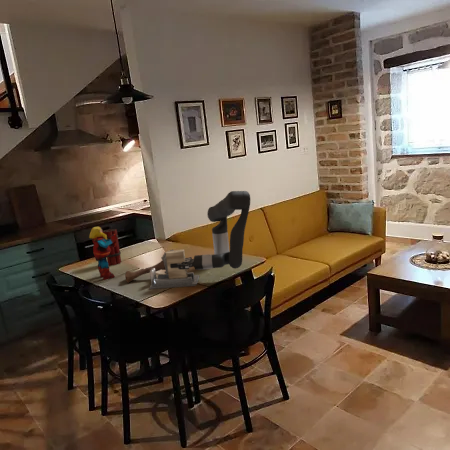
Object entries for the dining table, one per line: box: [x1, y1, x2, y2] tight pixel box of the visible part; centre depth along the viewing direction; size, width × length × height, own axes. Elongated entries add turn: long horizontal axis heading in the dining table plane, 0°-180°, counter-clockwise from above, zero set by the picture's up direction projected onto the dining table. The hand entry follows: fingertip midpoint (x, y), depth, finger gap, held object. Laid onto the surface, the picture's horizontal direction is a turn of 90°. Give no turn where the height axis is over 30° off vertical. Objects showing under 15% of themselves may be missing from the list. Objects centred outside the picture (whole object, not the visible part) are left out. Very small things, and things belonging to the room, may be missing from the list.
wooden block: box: [165, 249, 188, 279], centre depth 212 cm, size 4×9×16 cm, turn 87°
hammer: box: [124, 249, 174, 284], centre depth 223 cm, size 15×10×30 cm
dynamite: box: [102, 218, 122, 266], centre depth 257 cm, size 10×9×30 cm
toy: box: [88, 226, 117, 281], centre depth 230 cm, size 15×15×30 cm
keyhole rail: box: [149, 268, 200, 290], centre depth 213 cm, size 14×24×8 cm, turn 87°
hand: (171, 264), depth 212 cm, fingers closed on wooden block, 4 cm apart
